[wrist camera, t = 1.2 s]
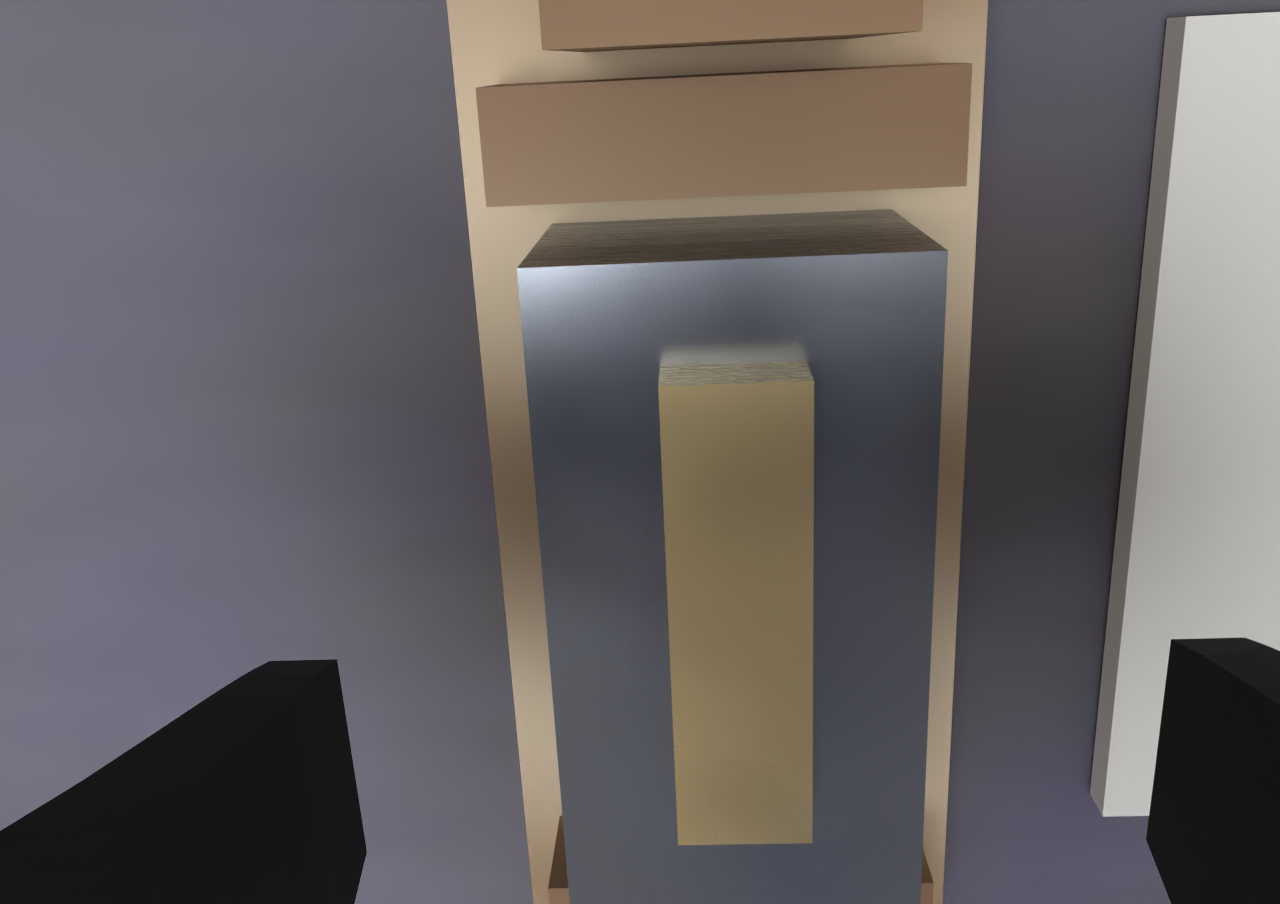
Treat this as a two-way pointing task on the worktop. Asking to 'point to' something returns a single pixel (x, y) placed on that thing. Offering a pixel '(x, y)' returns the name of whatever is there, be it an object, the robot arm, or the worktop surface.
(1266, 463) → the white base plate
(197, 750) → the robot arm
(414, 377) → the worktop surface
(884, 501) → the lever cap
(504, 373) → the wooden block stand
